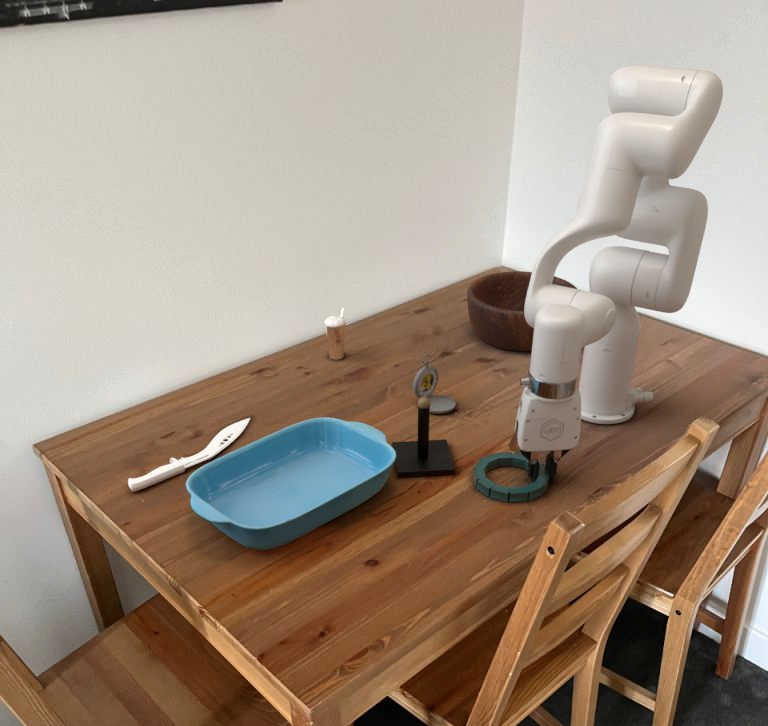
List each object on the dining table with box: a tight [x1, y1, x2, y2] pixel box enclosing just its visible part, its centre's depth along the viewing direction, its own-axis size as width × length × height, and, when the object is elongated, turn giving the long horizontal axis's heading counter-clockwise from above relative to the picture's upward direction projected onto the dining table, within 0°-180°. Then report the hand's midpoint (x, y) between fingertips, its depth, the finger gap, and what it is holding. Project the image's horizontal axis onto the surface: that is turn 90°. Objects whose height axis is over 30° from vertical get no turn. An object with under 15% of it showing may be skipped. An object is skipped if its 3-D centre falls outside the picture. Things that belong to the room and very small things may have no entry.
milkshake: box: [323, 307, 347, 361], centre depth 183 cm, size 4×5×10 cm
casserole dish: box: [185, 416, 396, 551], centre depth 140 cm, size 37×22×7 cm, turn 135°
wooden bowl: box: [466, 270, 578, 352], centre depth 192 cm, size 25×25×10 cm
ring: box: [472, 451, 550, 503], centre depth 146 cm, size 13×13×2 cm
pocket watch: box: [412, 353, 457, 415], centre depth 165 cm, size 8×8×10 cm
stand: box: [391, 397, 456, 479], centre depth 148 cm, size 10×10×13 cm
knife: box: [127, 417, 251, 493], centre depth 154 cm, size 30×2×8 cm
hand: (540, 478), depth 147 cm, fingers closed on ring, 2 cm apart
